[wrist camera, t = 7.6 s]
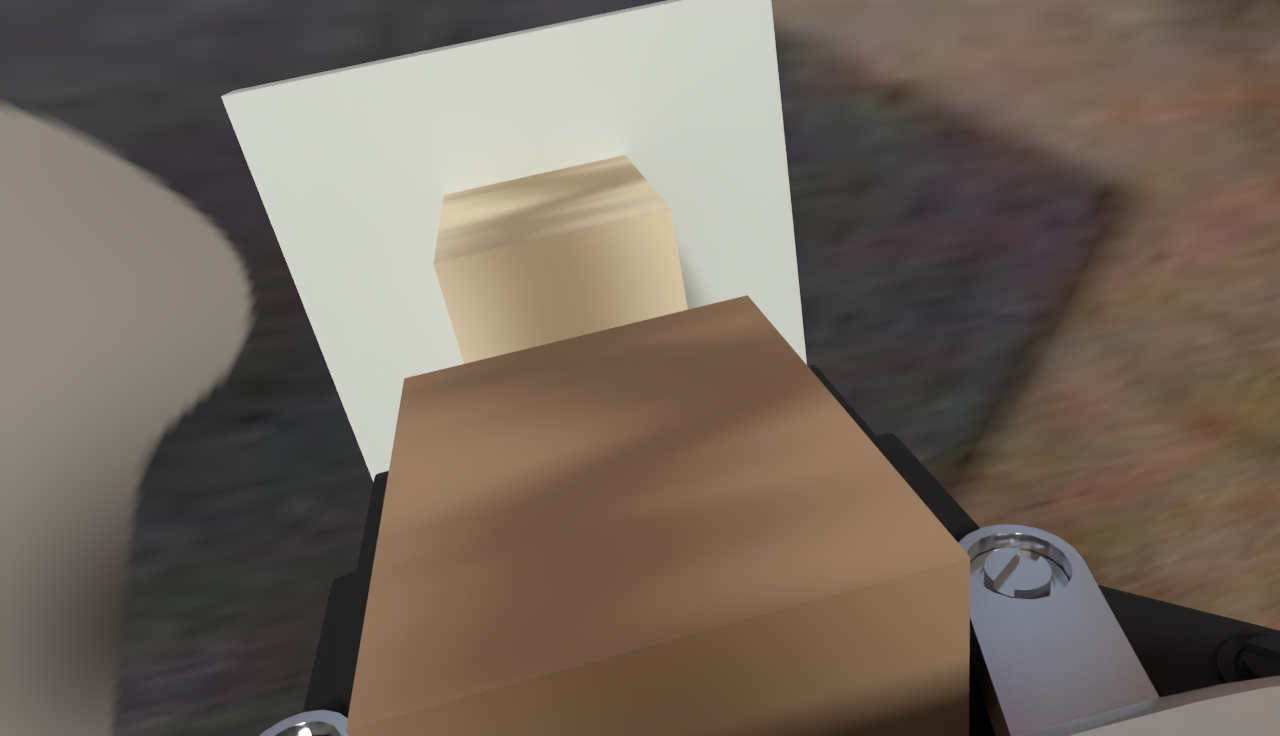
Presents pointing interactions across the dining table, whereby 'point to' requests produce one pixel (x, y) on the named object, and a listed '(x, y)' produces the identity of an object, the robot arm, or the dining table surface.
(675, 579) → the walnut block
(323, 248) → the plate
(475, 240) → the maple block
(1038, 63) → the dining table surface
